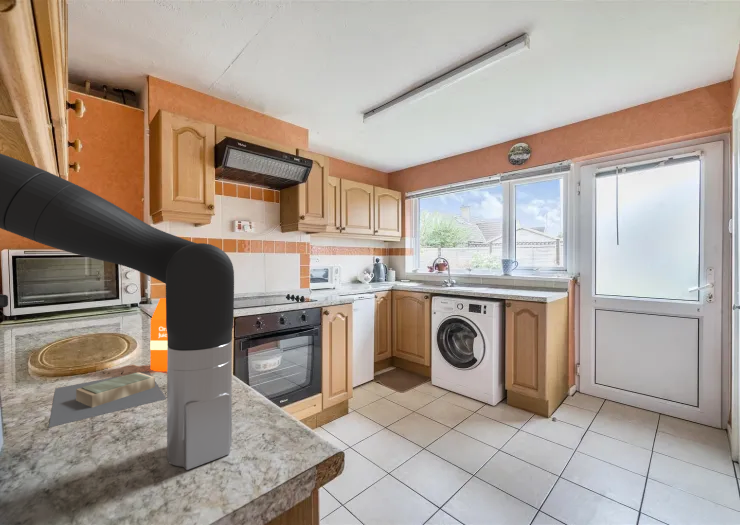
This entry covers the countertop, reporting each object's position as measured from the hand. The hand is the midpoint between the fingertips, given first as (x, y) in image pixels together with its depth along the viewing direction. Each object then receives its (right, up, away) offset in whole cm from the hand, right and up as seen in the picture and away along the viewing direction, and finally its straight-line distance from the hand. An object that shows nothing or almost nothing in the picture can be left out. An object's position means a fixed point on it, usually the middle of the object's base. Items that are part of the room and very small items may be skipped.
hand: (6, 300), depth 57 cm
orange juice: (+8, -24, +36) cm, 44 cm away
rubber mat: (+6, -23, +15) cm, 29 cm away
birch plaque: (+5, -21, +10) cm, 24 cm away
